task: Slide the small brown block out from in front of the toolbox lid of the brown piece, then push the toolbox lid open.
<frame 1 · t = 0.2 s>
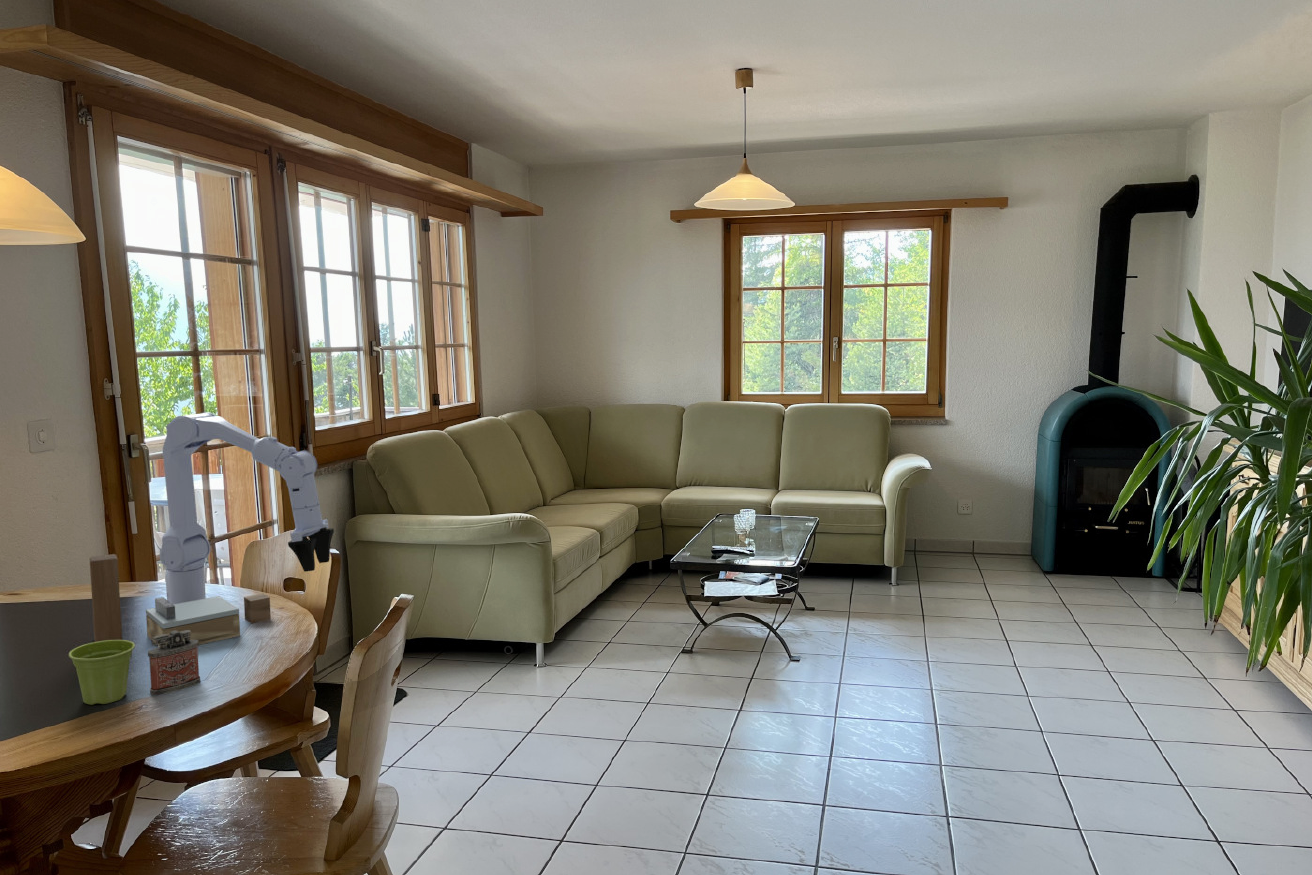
hand: (317, 566, 193), 10 cm above the table, tool pointing down, fingers open, 7 cm apart
lighter: (175, 688, 152), on the table
wooden block: (108, 644, 174), on the table
small brown block: (257, 619, 189), on the table
plant pot: (105, 699, 148), on the table
toolbox lid: (192, 605, 177), point 6 cm above the table, slide at 0.0 cm
brown piece: (193, 636, 178), on the table
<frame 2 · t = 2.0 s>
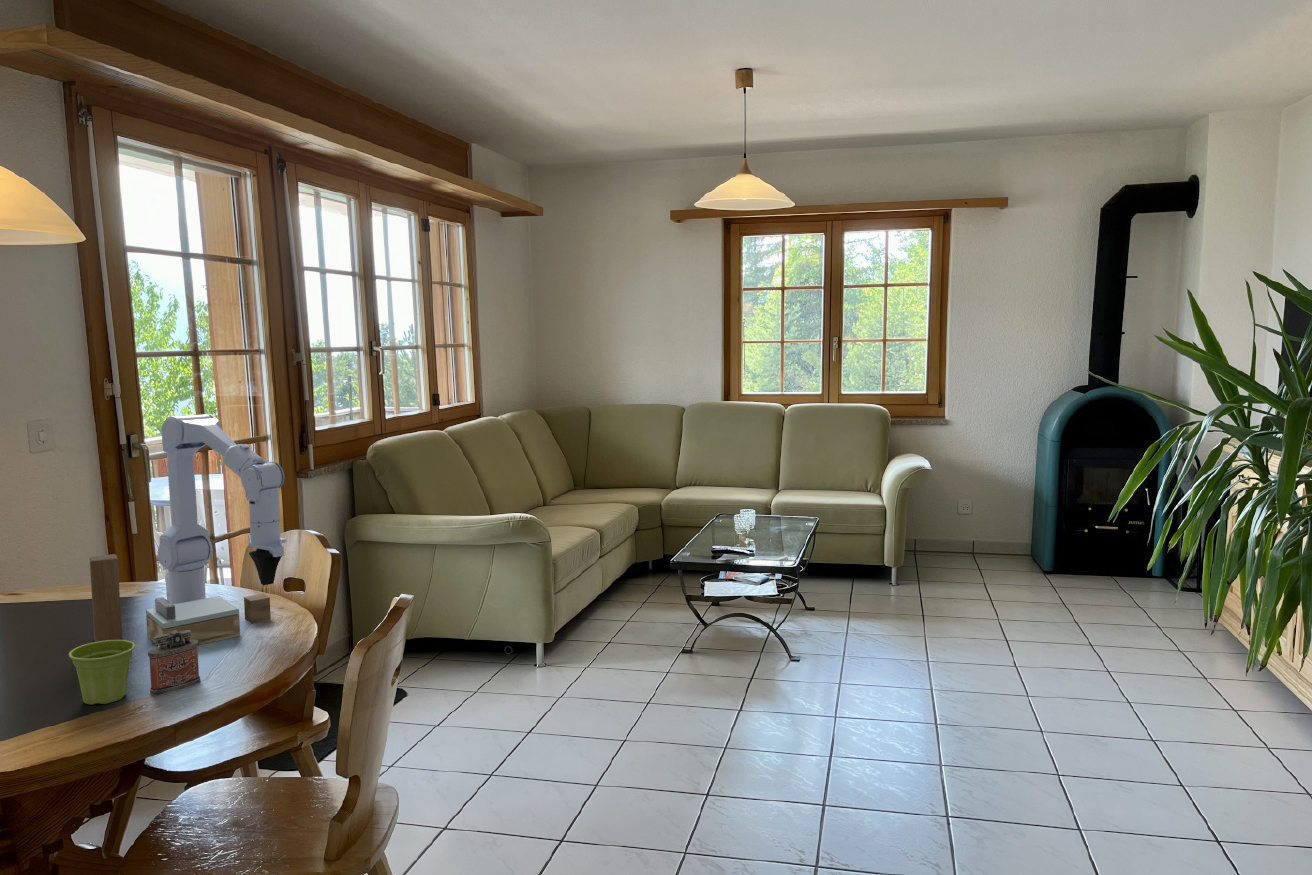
hand: (267, 583, 184), 9 cm above the table, tool pointing down, fingers closed
nothing on the table moved.
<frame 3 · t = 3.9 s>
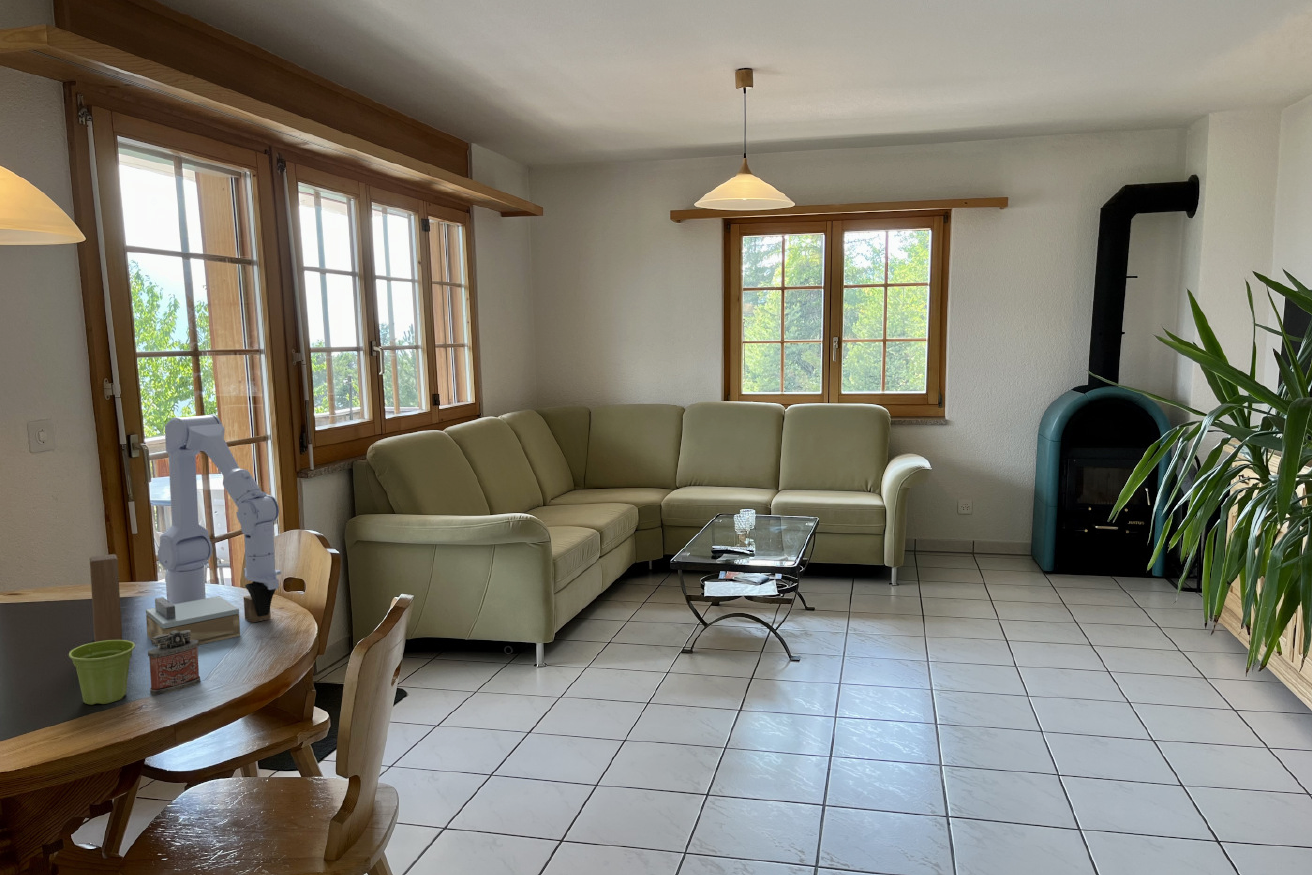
hand: (262, 615, 187), 2 cm above the table, tool pointing down, fingers closed, pressing on small brown block
small brown block: (257, 618, 189), on the table, touching gripper
everything else where it was.
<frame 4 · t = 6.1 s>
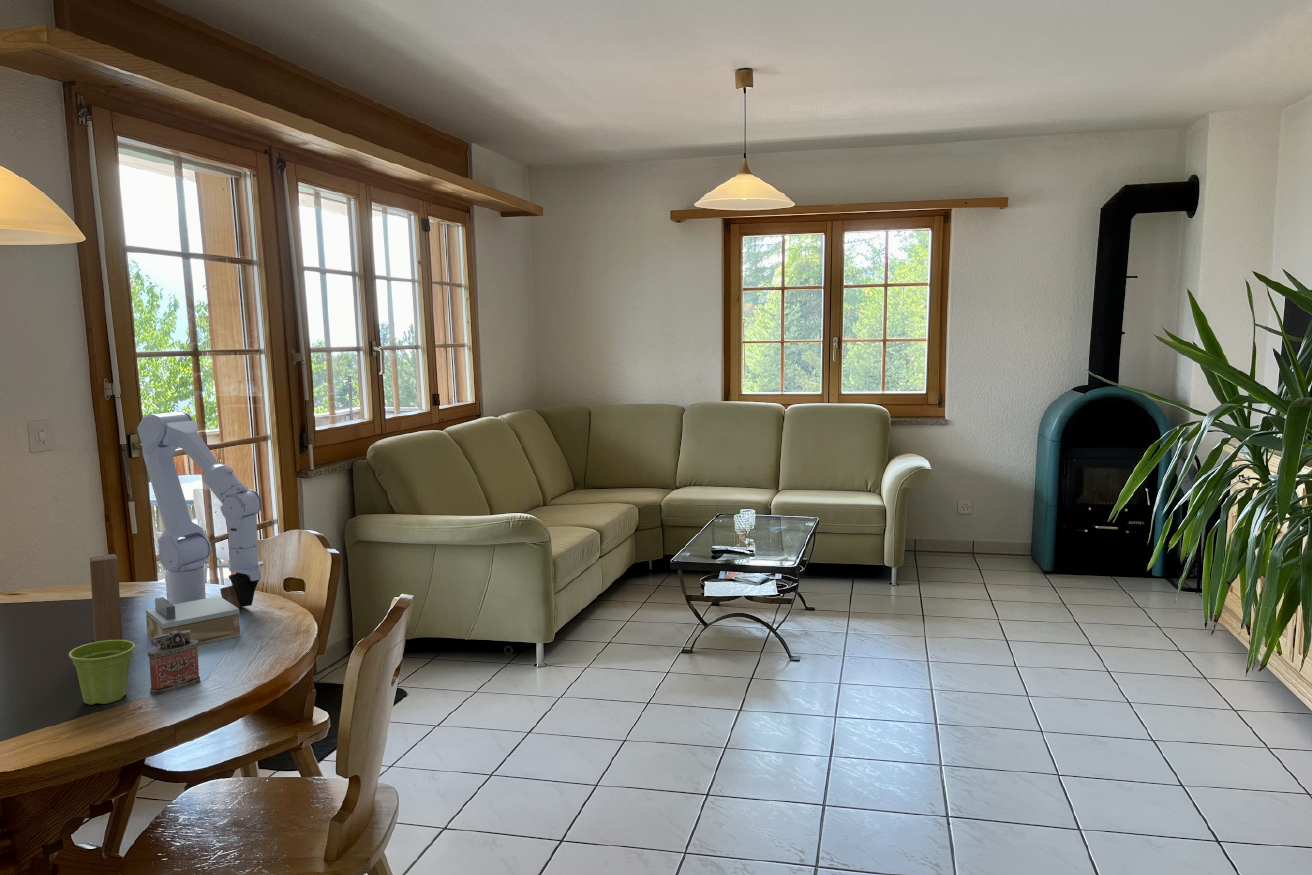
hand: (245, 605, 194), 1 cm above the table, tool pointing down, fingers closed
small brown block: (237, 607, 195), point 1 cm above the table, tilted 17°, touching gripper
everything else where it was.
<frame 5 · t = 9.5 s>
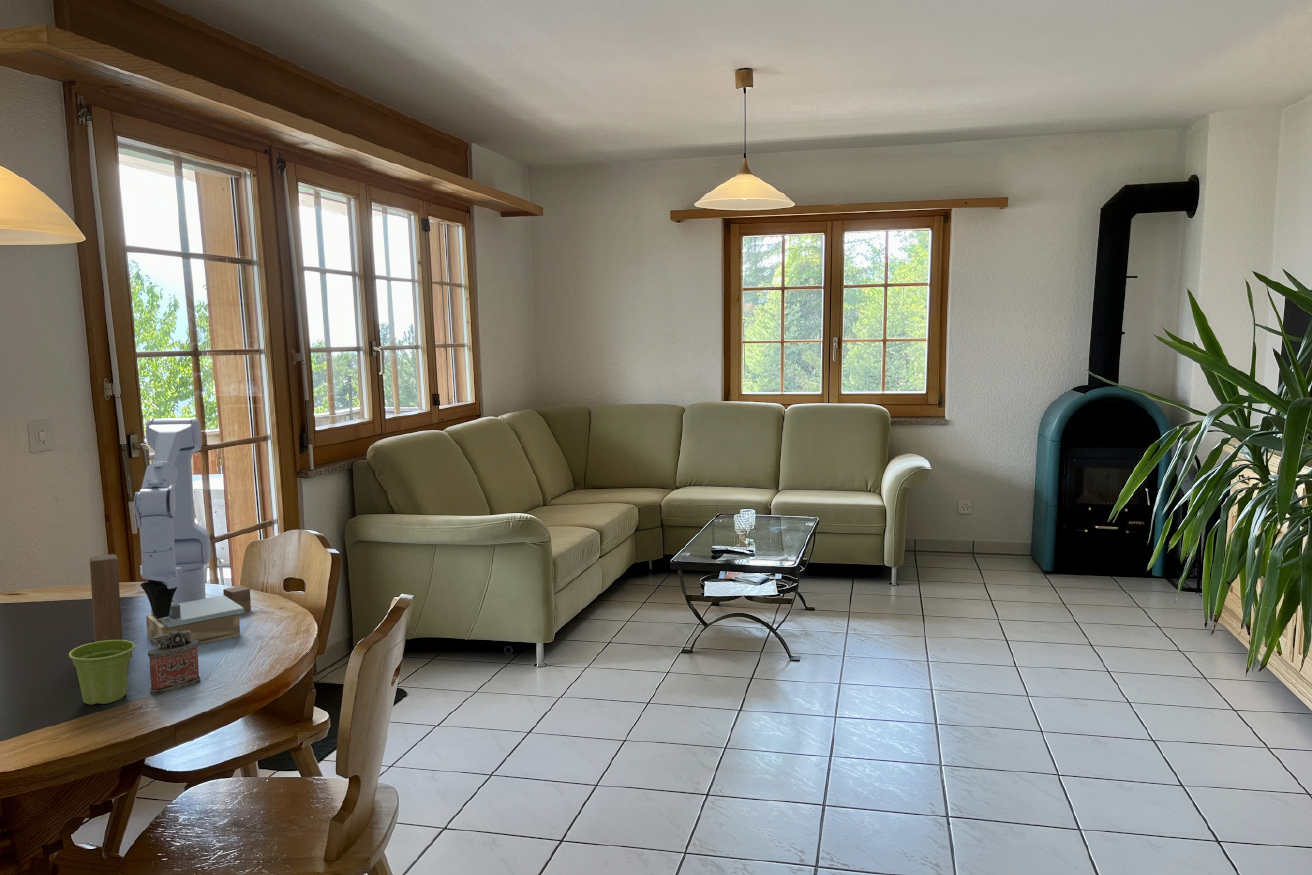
hand: (161, 616, 171), 6 cm above the table, tool pointing down, fingers closed
small brown block: (237, 610, 195), on the table
toolbox lid: (197, 604, 178), point 6 cm above the table, slide at 0.9 cm, touching gripper
everything else where it was.
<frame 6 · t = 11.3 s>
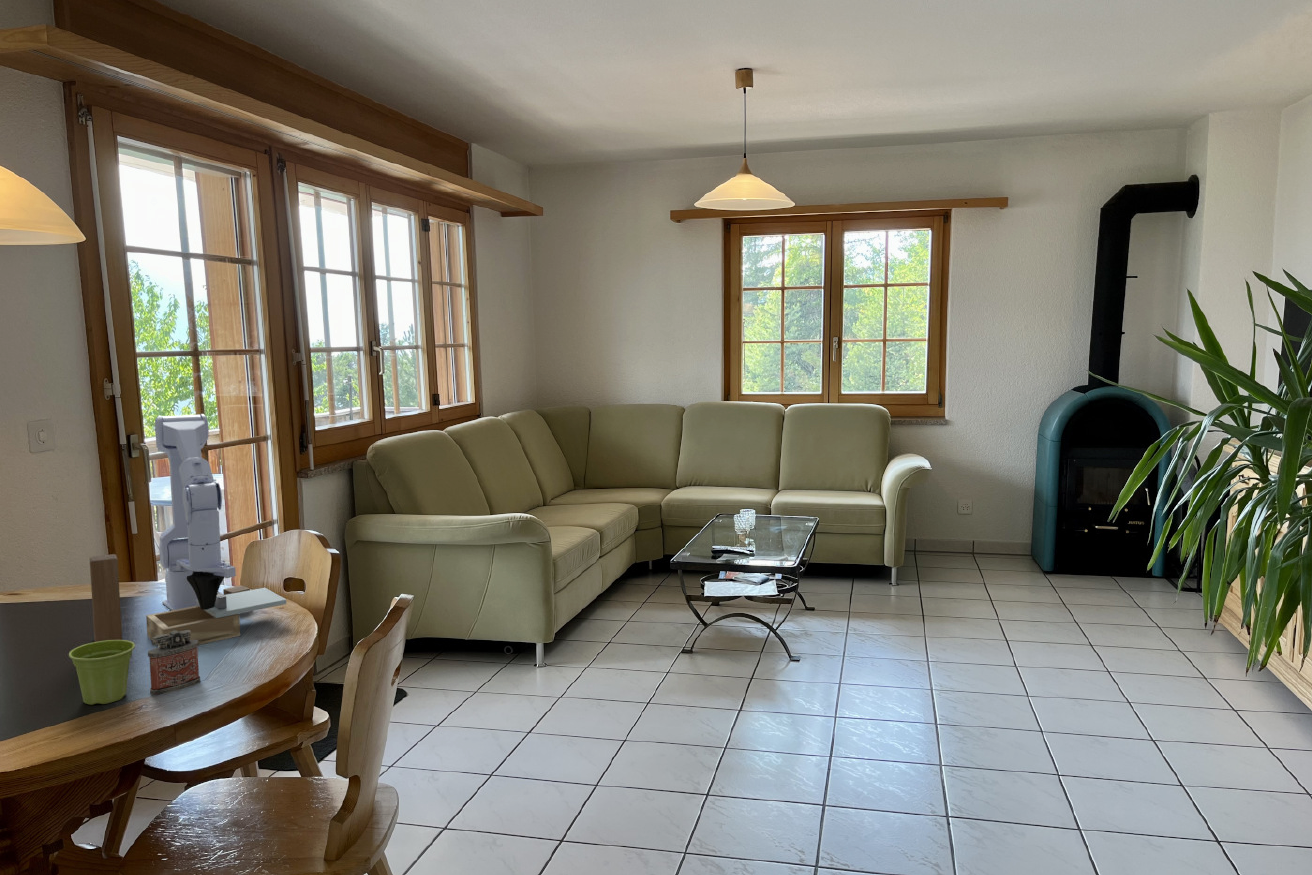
hand: (207, 608, 177), 6 cm above the table, tool pointing down, fingers closed
toolbox lid: (241, 596, 184), point 6 cm above the table, slide at 9.5 cm, touching gripper
everything else where it was.
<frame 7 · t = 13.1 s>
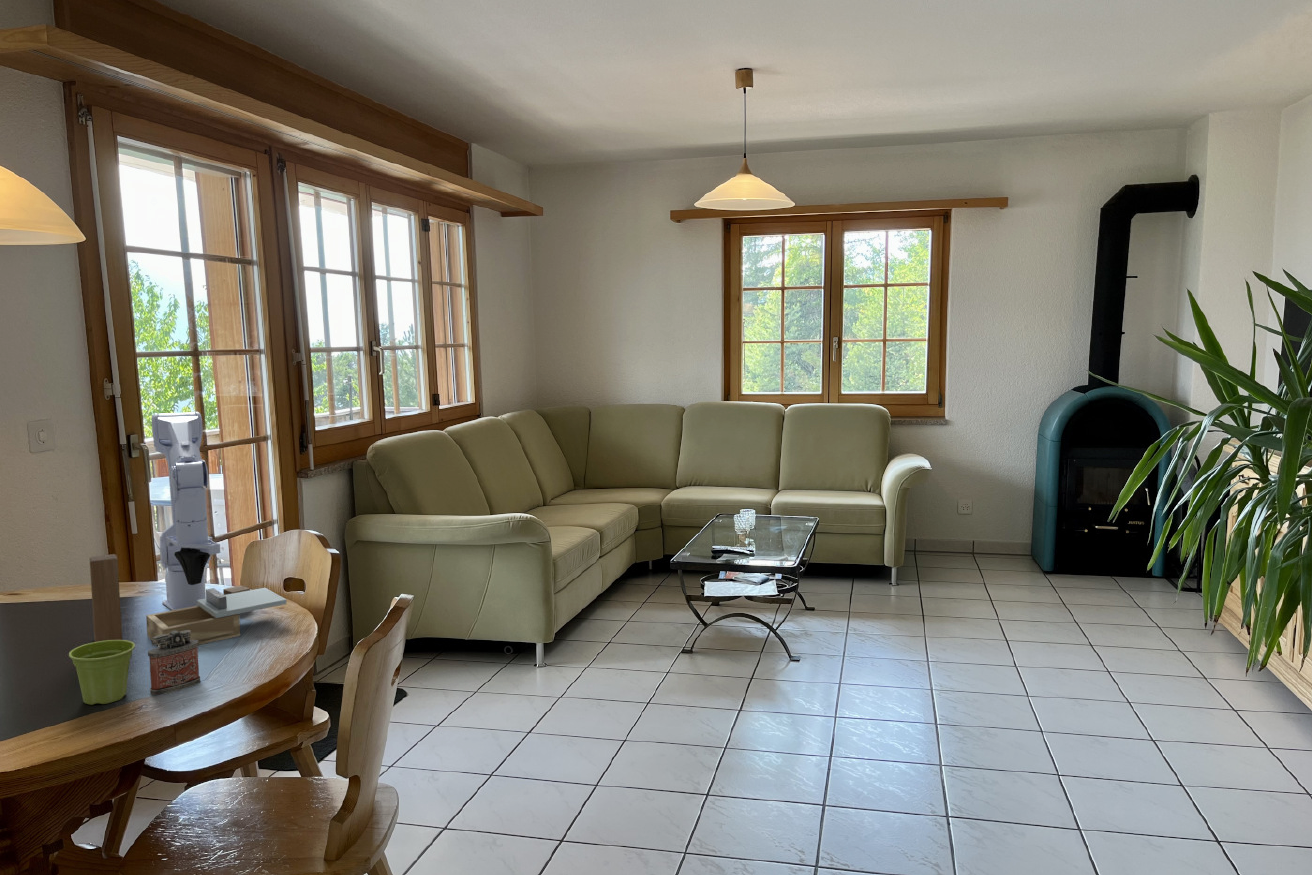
hand: (194, 583, 182), 10 cm above the table, tool pointing down, fingers closed
toolbox lid: (241, 596, 184), point 6 cm above the table, slide at 9.6 cm
everything else where it was.
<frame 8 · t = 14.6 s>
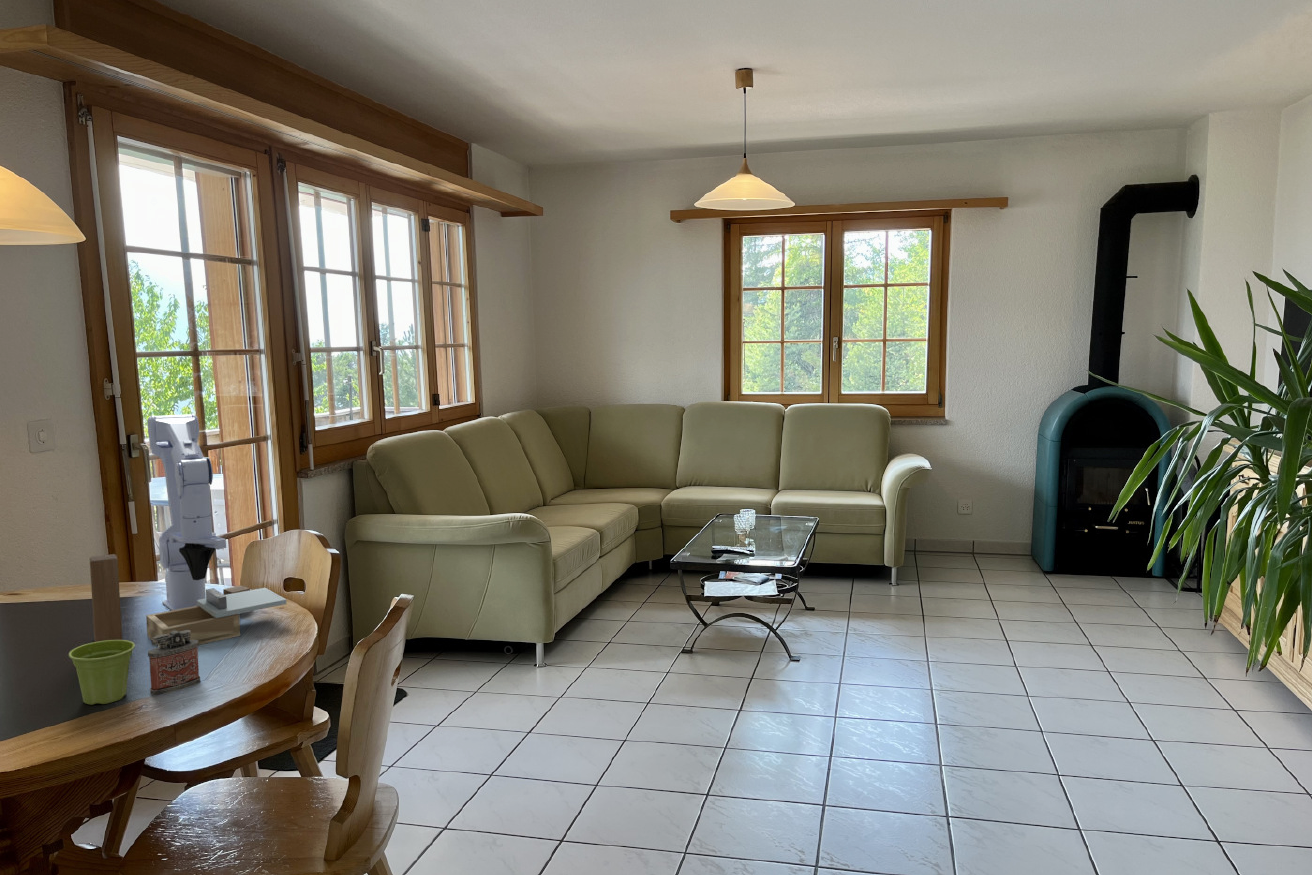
hand: (199, 578, 184), 10 cm above the table, tool pointing down, fingers closed
nothing on the table moved.
at the end: toolbox lid slide at 9.6 cm; small brown block inside the target area (2.3 cm from its centre), on the table; small brown block tilted 0° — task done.
